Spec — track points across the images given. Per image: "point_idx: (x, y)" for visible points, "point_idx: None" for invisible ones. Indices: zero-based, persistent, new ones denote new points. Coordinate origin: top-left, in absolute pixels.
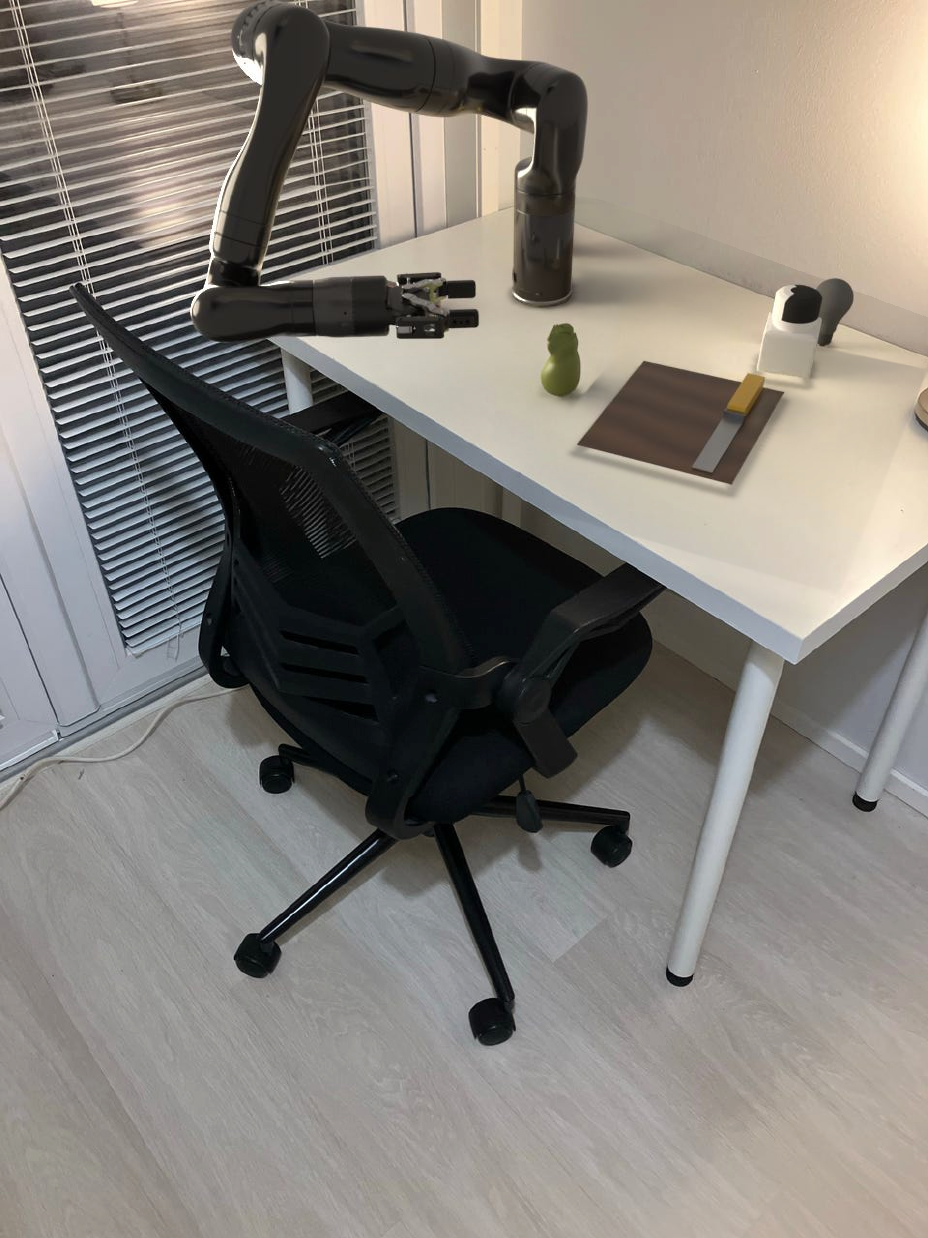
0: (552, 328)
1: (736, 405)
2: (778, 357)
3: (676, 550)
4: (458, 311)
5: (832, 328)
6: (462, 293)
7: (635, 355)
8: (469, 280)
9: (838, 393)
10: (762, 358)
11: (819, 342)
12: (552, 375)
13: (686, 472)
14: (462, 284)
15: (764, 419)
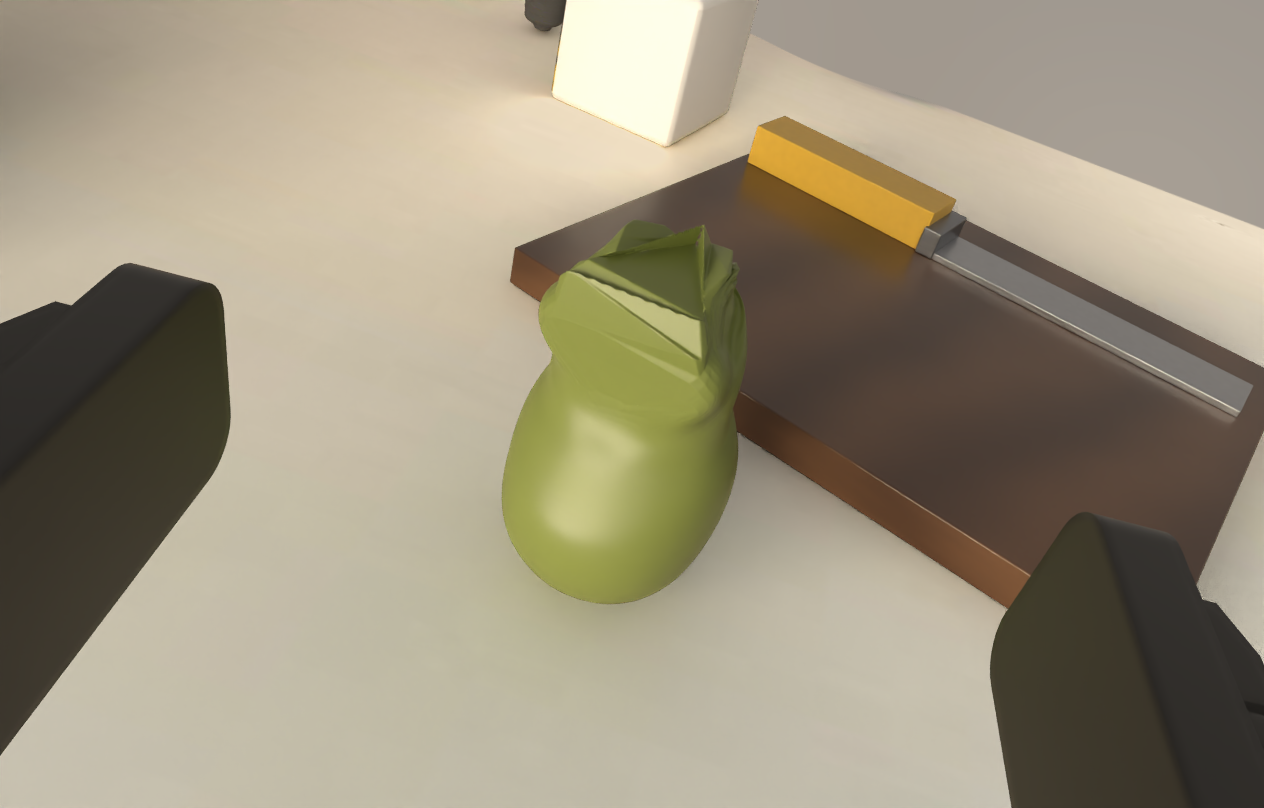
0: (623, 293)
1: (939, 205)
2: (711, 62)
3: None
4: (1261, 762)
5: None
6: (134, 522)
7: (392, 257)
8: (116, 294)
9: (763, 99)
10: (688, 81)
11: (554, 21)
12: (707, 516)
13: (1259, 435)
14: (114, 406)
15: None
